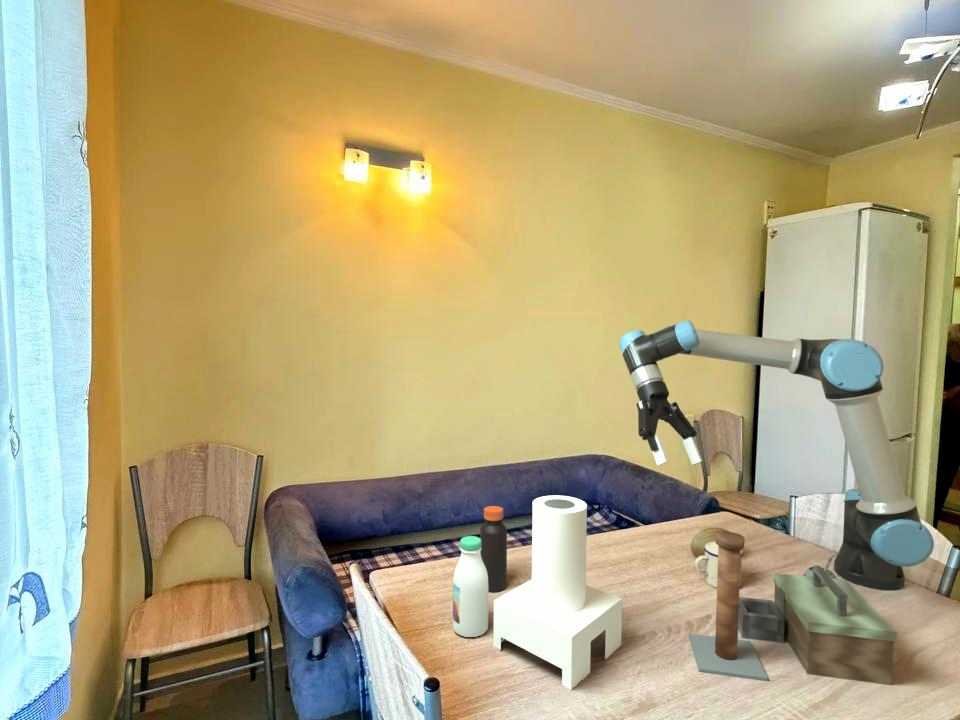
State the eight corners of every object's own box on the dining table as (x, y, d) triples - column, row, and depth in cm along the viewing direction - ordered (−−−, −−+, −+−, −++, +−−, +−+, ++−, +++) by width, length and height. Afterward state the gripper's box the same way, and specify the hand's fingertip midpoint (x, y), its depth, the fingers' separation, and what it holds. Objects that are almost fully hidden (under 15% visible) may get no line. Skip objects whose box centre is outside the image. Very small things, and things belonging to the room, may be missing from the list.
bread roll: (750, 561, 150) (751, 533, 149) (702, 565, 147) (703, 537, 147) (729, 547, 159) (729, 521, 159) (683, 551, 157) (684, 524, 156)
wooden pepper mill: (736, 648, 108) (740, 532, 106) (743, 663, 103) (747, 542, 101) (709, 644, 109) (713, 530, 108) (714, 660, 104) (718, 539, 102)
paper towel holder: (493, 647, 109) (494, 504, 107) (547, 612, 122) (548, 484, 121) (571, 690, 96) (573, 528, 94) (621, 645, 110) (624, 503, 108)
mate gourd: (807, 593, 131) (809, 534, 131) (844, 605, 126) (847, 543, 125) (798, 604, 126) (800, 542, 125) (837, 617, 121) (839, 553, 120)
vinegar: (475, 589, 133) (476, 511, 131) (485, 578, 139) (486, 503, 138) (501, 595, 130) (501, 515, 129) (510, 582, 136) (510, 506, 135)
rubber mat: (749, 643, 110) (749, 641, 110) (767, 681, 99) (767, 677, 98) (688, 636, 113) (688, 633, 113) (698, 671, 101) (699, 668, 101)
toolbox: (843, 625, 117) (846, 561, 116) (894, 686, 97) (898, 609, 96) (730, 612, 122) (732, 551, 122) (756, 667, 102) (758, 595, 101)
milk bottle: (492, 623, 118) (493, 535, 116) (481, 642, 110) (481, 548, 109) (460, 616, 120) (460, 530, 119) (447, 635, 113) (447, 543, 112)
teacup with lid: (728, 573, 142) (730, 531, 141) (749, 590, 133) (751, 545, 132) (686, 575, 141) (687, 533, 140) (704, 592, 132) (705, 547, 131)
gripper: (668, 395, 148) (698, 468, 138) (607, 388, 134) (635, 469, 124) (690, 383, 143) (722, 457, 133) (628, 375, 129) (659, 457, 119)
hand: (680, 463), depth 129 cm, fingers open, 13 cm apart
